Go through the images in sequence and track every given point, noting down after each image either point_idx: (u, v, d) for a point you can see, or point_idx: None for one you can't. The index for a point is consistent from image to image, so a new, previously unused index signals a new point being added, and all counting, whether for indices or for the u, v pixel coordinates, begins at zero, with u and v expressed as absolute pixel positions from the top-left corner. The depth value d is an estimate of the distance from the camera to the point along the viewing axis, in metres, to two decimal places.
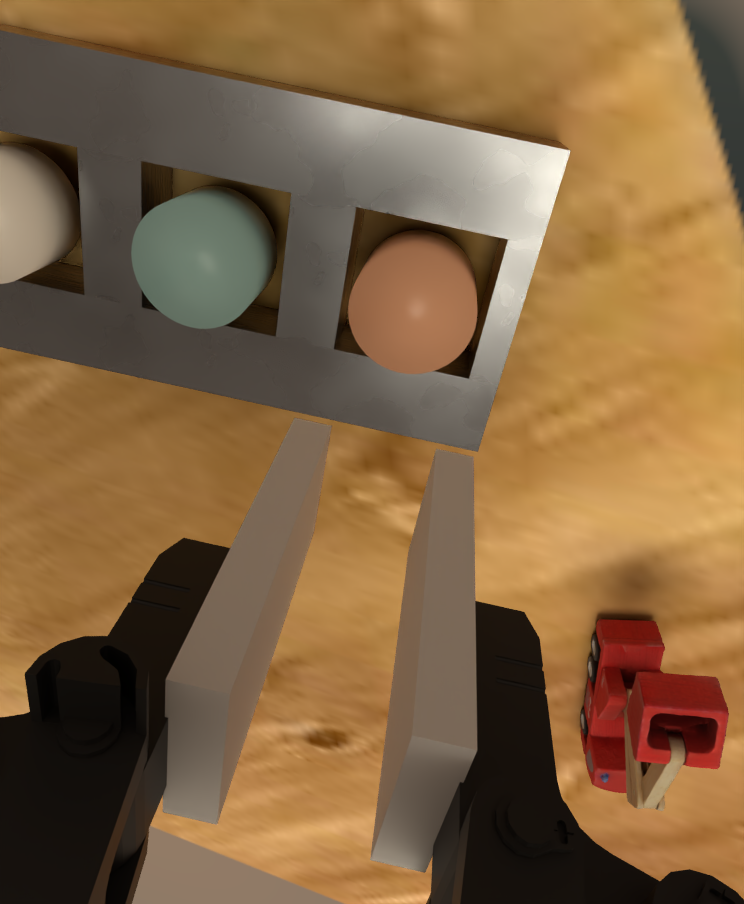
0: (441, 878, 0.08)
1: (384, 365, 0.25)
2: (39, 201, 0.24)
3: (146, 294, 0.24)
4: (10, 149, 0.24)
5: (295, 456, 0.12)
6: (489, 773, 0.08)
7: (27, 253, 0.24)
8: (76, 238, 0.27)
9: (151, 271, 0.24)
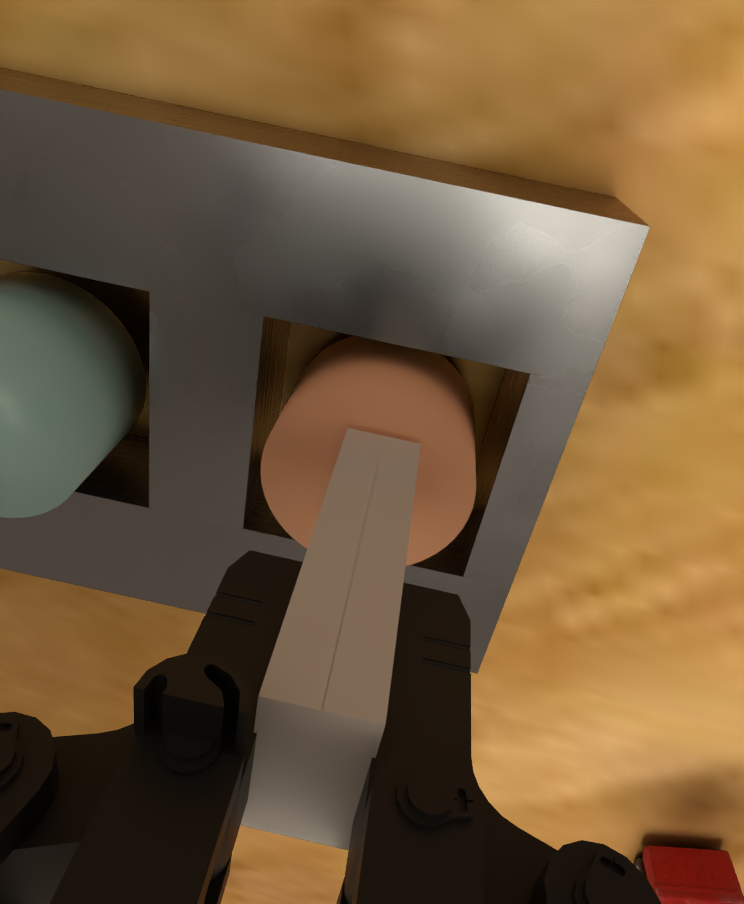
0: (351, 857, 0.08)
1: None
2: None
3: None
4: None
5: (353, 467, 0.12)
6: (403, 749, 0.08)
7: None
8: None
9: None
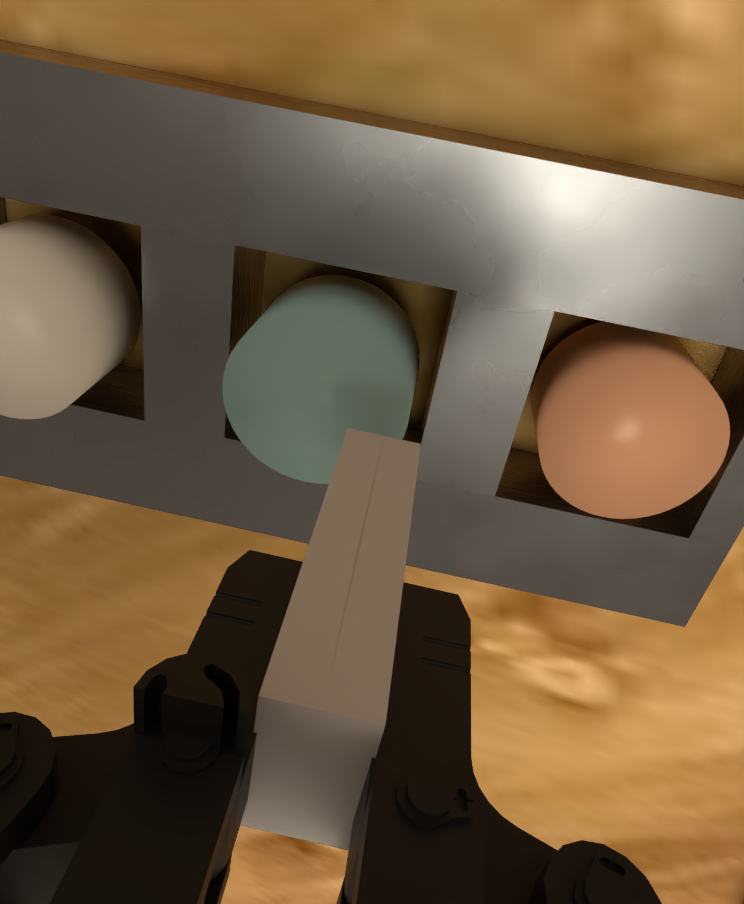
0: (351, 857, 0.08)
1: (579, 506, 0.18)
2: (87, 307, 0.16)
3: (241, 437, 0.17)
4: (44, 229, 0.17)
5: (353, 467, 0.12)
6: (402, 749, 0.08)
7: (69, 380, 0.17)
8: (134, 343, 0.19)
9: (250, 408, 0.16)
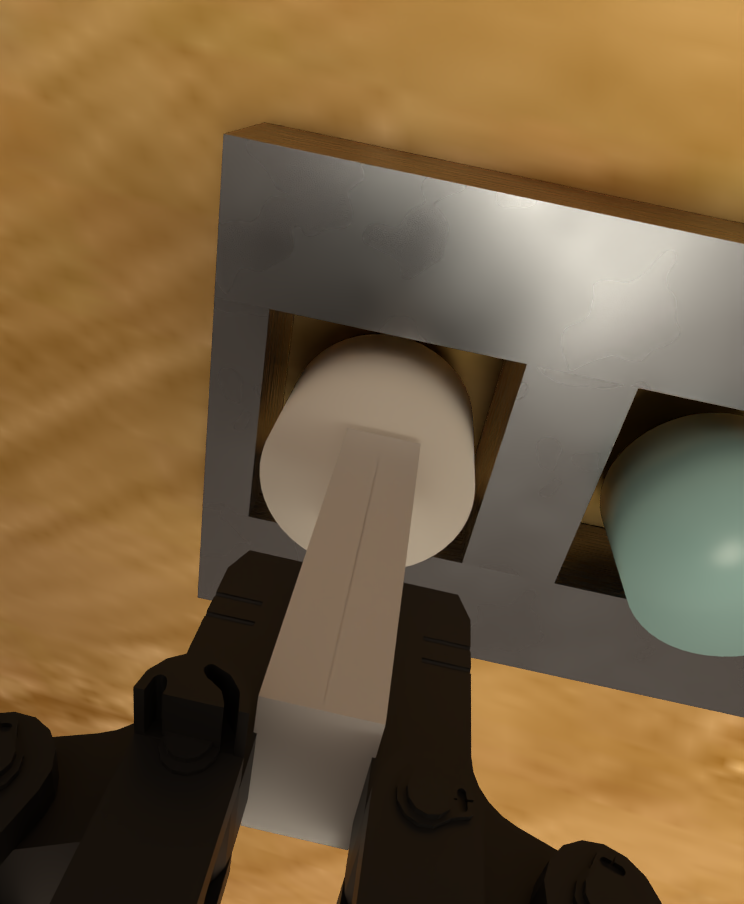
0: (351, 858, 0.08)
1: None
2: (472, 455, 0.14)
3: (633, 607, 0.14)
4: (409, 360, 0.14)
5: (353, 467, 0.12)
6: (403, 748, 0.08)
7: (438, 534, 0.14)
8: None
9: (658, 578, 0.14)
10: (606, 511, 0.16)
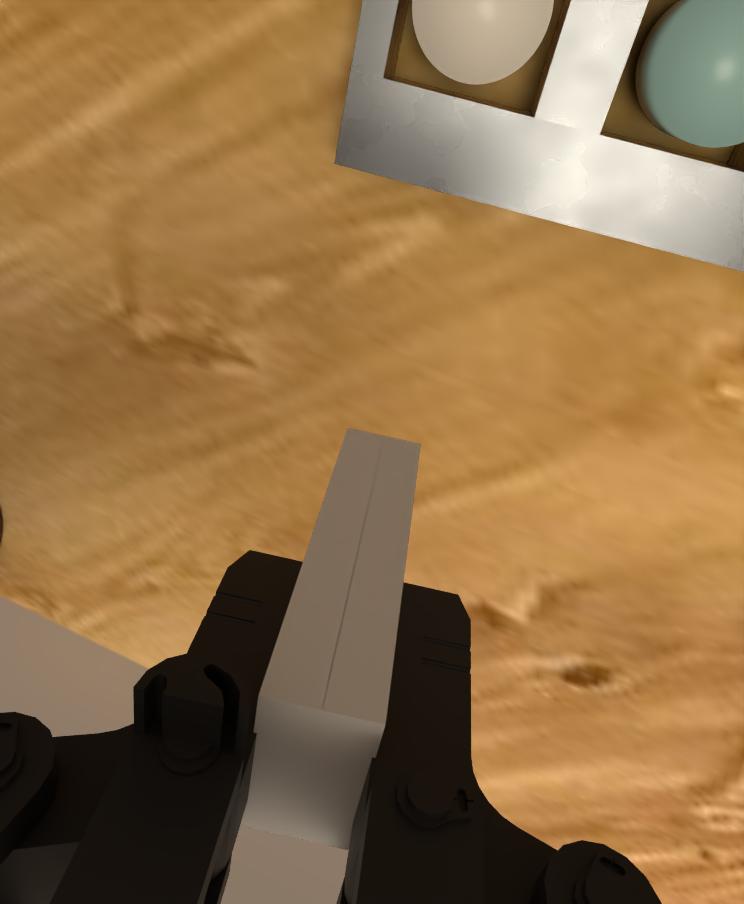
0: (351, 858, 0.08)
1: None
2: None
3: (657, 101, 0.21)
4: None
5: (353, 468, 0.12)
6: (403, 749, 0.08)
7: (525, 46, 0.22)
8: None
9: (676, 71, 0.21)
10: (641, 65, 0.22)
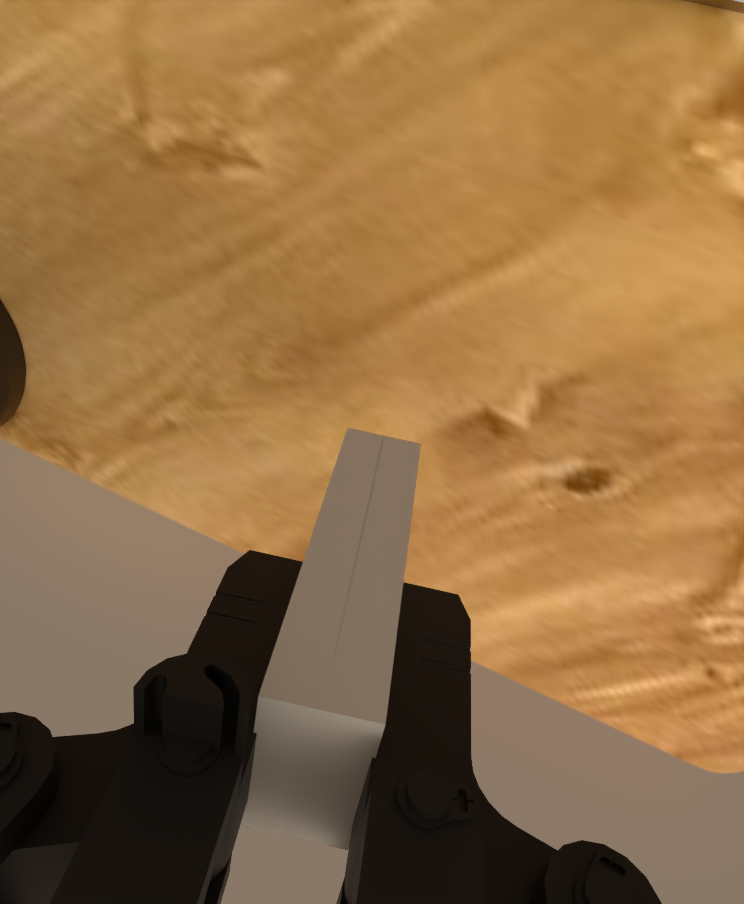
0: (351, 858, 0.08)
1: None
2: None
3: None
4: None
5: (353, 467, 0.12)
6: (403, 749, 0.08)
7: None
8: None
9: None
10: None
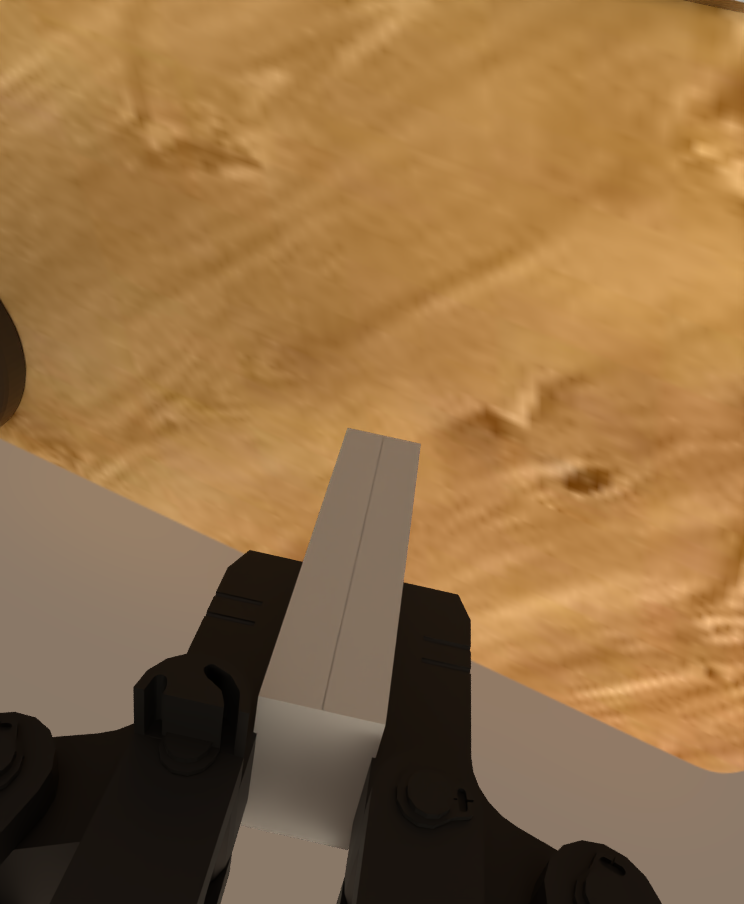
0: (351, 858, 0.08)
1: None
2: None
3: None
4: None
5: (353, 467, 0.12)
6: (402, 749, 0.08)
7: None
8: None
9: None
10: None
